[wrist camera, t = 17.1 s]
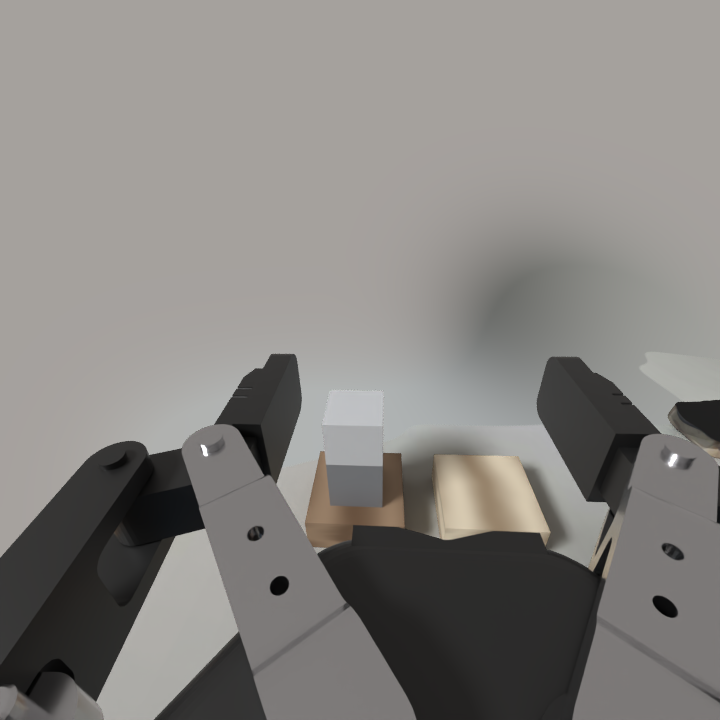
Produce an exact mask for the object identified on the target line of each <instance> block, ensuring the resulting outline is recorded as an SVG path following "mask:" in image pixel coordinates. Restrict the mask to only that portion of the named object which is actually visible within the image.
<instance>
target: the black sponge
mask: <svg viewBox="0 0 720 720" xmlns="http://www.w3.org/2000/svg"><path fill="white" fill-rule="evenodd" d="M668 419H669V421H670V422H671V424H672V425H673V426H674V427H675V428H676V429H677V430H679V431H680V432H681V433H682V434H683V435H685V436H686V437H687V438H688V439H689V440H690V441H691V442H692V443H693V444H695V445H697V446H699V447H700V448H702V449H703V450H705V451H706V452H707V453H709V454H710V455H711V456H712V457H714V458H719V459H720V400H711V401H702V402H677V403H676V404H675V406H674V407H673V408H672V409H671V411H670V412H669V414H668Z"/></svg>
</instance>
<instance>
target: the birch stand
mask: <svg viewBox="0 0 720 720" xmlns="http://www.w3.org/2000/svg"><path fill="white" fill-rule="evenodd" d="M432 483H433V490H434V497H435V505H436V512H437V519H438V527H439V534H440V539H444V540H451V539H456V538H461V537H466V536H471V535H475V534H480V533H485V532H490V531H510V532H534V533H540V534H541V537H542V539H543V542H544V544H545V546H546V543H547V541H548V538H549V535H550V533H551V532H550V530H549V527H548V525H547V523H546V520H545V518H544V516H543V513H542V511H541V509H540V506H539V504H538V501H537V499H536V497H535V494H534V492H533V490H532V487H531V485H530V483H529V480H528V478H527V476H526V473H525V471H524V469H523V466H522V464H521V462H520V459H519V457H518V456H480V455H441V454H434V460H433V470H432Z"/></svg>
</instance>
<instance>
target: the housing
mask: <svg viewBox="0 0 720 720" xmlns="http://www.w3.org/2000/svg"><path fill="white" fill-rule="evenodd" d="M322 430H323V440H324V450H325V460H326V470H327V479H328V489H329V499H330V506H356V507H382V500H383V391H368V390H367V391H365V390H330V393H329V397H328V401H327V405H326V410H325V414H324V418H323V422H322Z"/></svg>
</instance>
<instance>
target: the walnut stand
mask: <svg viewBox="0 0 720 720" xmlns="http://www.w3.org/2000/svg"><path fill="white" fill-rule="evenodd" d="M353 525H364V526H388V527H400V528H404V529H405V524H404V503H403V482H402V461H401V453H383V500H382V507H356V506H330V499H329V489H328V479H327V470H326V460H325V452H324V451H323V452H322V451H321V452H320V456H319V460H318V465H317V470H316V474H315V479H314V483H313V488H312V493H311V497H310V502H309V507H308V511H307V516H306V520H305V526H306V532H307V538H308V540H309V541H310V543H311V545H312V547H326V548H328V547H330V546H332V545H335V544H338V543H341V542H344V541H348V540H352V532H353Z"/></svg>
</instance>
